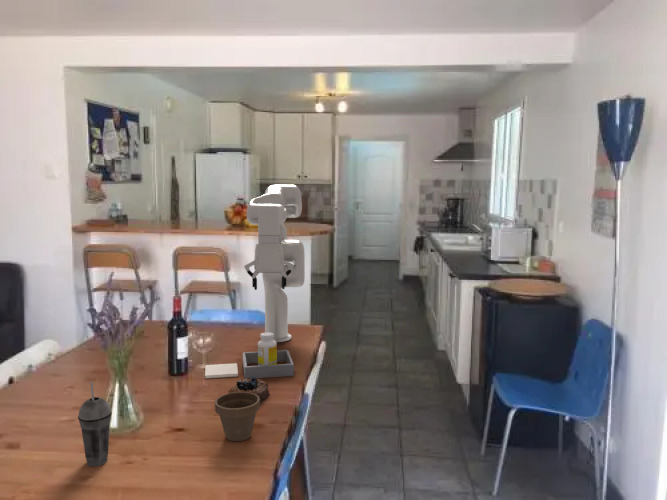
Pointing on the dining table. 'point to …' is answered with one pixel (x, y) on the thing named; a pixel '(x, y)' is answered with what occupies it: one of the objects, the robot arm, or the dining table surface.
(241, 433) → the flower pot
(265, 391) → the pastry
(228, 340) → the dining table surface
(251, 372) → the bin
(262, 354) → the supplement bottle
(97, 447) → the beverage cup
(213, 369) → the tile
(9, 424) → the dining table surface
